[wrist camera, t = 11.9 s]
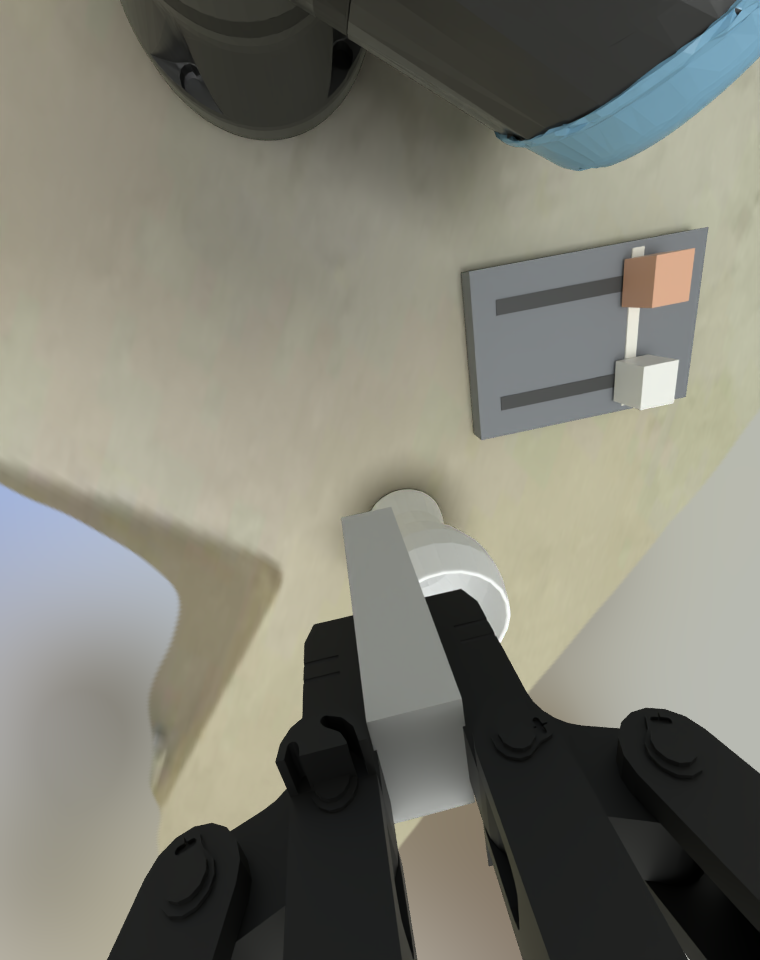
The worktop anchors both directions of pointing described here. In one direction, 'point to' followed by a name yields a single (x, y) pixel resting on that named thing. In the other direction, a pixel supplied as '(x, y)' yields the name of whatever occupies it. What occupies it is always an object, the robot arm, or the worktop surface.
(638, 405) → the block
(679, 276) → the fader front
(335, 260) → the worktop surface
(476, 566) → the cup
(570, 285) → the console
